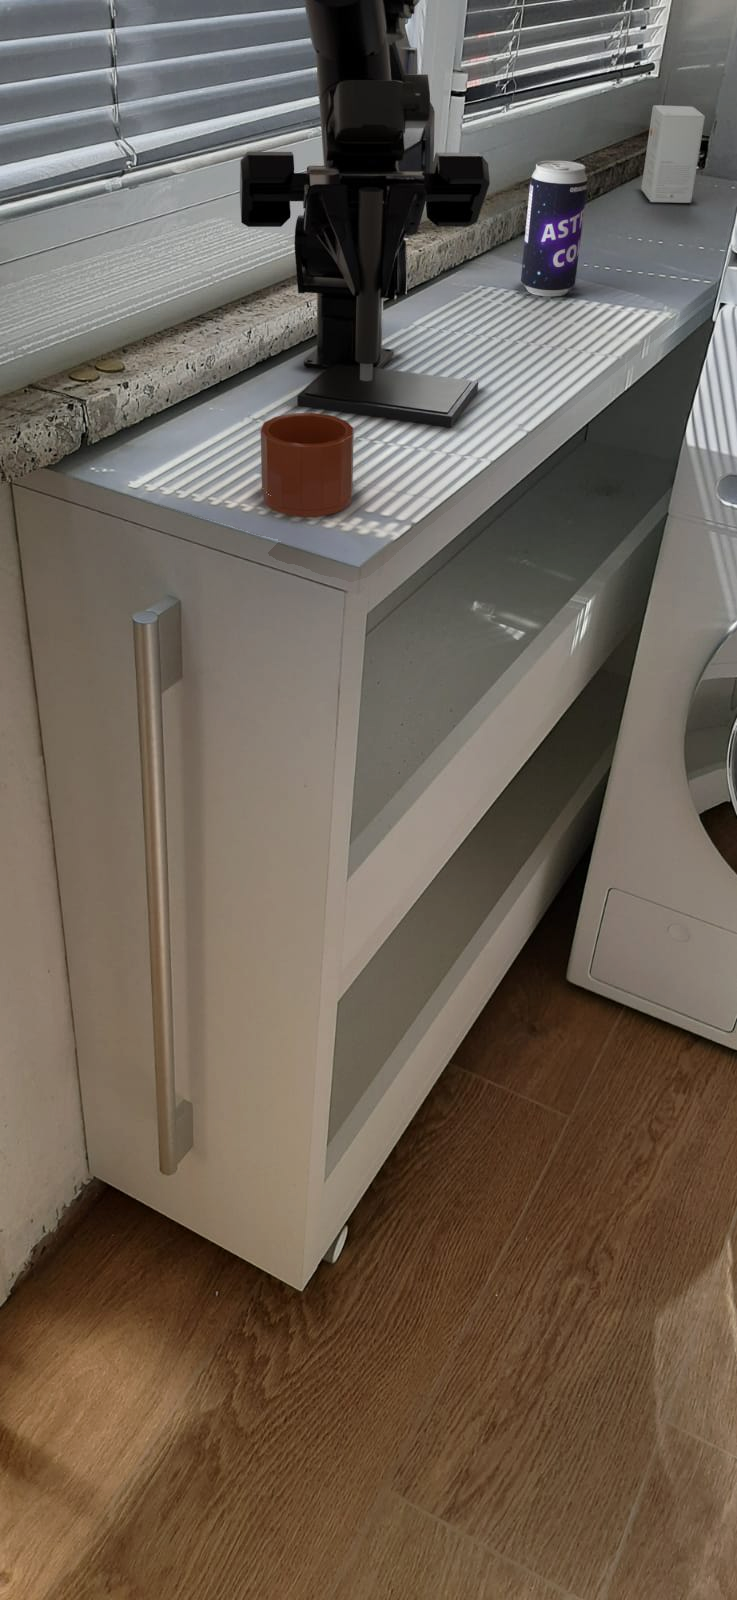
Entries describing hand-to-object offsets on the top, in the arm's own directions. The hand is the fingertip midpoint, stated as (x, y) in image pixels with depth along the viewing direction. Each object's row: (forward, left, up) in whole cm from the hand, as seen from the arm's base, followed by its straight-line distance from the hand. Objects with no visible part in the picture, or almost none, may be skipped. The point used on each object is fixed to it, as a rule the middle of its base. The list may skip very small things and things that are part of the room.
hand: (370, 293), depth 95 cm
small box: (-94, +13, -10) cm, 96 cm away
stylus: (-1, -1, -7) cm, 7 cm away
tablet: (-5, 0, -10) cm, 11 cm away
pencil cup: (+17, +1, -10) cm, 19 cm away
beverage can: (-42, +6, -10) cm, 44 cm away
